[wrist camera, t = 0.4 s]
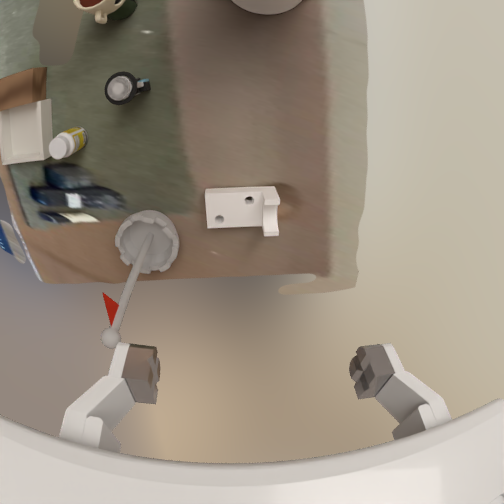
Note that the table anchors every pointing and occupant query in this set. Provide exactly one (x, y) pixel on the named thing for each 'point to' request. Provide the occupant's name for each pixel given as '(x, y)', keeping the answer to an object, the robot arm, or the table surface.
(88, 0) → the cream and green trophy
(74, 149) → the supplement bottle
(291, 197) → the table surface
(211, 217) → the bracket
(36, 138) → the grey tray
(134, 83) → the push button
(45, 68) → the walnut step
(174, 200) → the table surface
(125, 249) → the flag stand
